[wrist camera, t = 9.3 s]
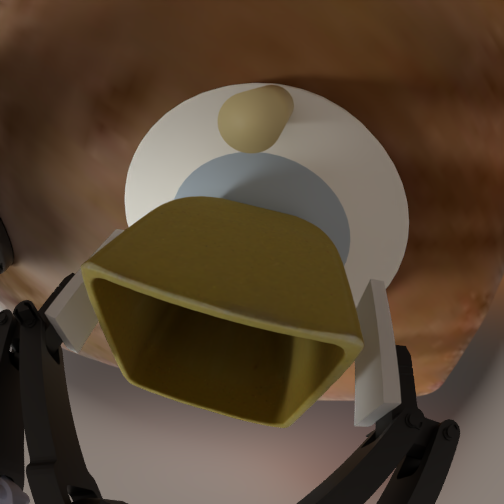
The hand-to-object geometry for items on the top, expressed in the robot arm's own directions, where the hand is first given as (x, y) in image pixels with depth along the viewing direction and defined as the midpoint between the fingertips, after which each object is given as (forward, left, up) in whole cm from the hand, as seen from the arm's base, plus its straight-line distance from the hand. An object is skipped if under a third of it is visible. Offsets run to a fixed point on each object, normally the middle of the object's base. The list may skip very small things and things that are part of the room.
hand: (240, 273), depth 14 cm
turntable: (0, 0, -4) cm, 5 cm away
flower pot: (0, 0, -3) cm, 3 cm away
